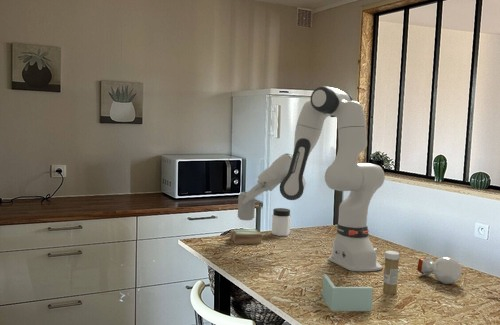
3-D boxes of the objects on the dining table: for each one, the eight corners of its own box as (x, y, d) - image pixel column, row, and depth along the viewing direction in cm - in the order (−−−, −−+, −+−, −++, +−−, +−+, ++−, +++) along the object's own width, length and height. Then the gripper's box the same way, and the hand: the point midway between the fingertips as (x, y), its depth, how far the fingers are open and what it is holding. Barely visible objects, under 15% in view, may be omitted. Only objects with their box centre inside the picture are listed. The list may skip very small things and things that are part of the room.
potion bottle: (458, 292, 159) (420, 284, 172) (471, 272, 163) (434, 265, 176) (447, 272, 156) (410, 265, 169) (461, 252, 160) (424, 247, 173)
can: (257, 218, 213) (258, 192, 211) (248, 221, 206) (249, 194, 205) (243, 216, 216) (244, 190, 215) (234, 219, 210) (235, 192, 209)
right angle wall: (371, 312, 137) (373, 287, 137) (331, 312, 136) (332, 287, 136) (359, 297, 149) (360, 274, 149) (322, 297, 148) (323, 274, 148)
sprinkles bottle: (380, 289, 155) (382, 250, 154) (393, 289, 155) (396, 250, 154) (385, 295, 150) (388, 254, 149) (399, 294, 151) (402, 254, 150)
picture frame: (261, 243, 209) (261, 233, 208) (234, 244, 206) (235, 234, 206) (255, 237, 219) (256, 228, 218) (230, 238, 216) (230, 229, 215)
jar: (287, 231, 232) (288, 208, 231) (291, 235, 224) (292, 211, 223) (270, 231, 231) (270, 208, 230) (273, 236, 223) (274, 211, 222)
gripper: (267, 189, 197) (244, 210, 200) (276, 183, 217) (255, 203, 220) (257, 178, 198) (234, 199, 201) (267, 173, 218) (246, 193, 221)
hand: (245, 201), depth 211 cm, fingers closed on can, 7 cm apart
